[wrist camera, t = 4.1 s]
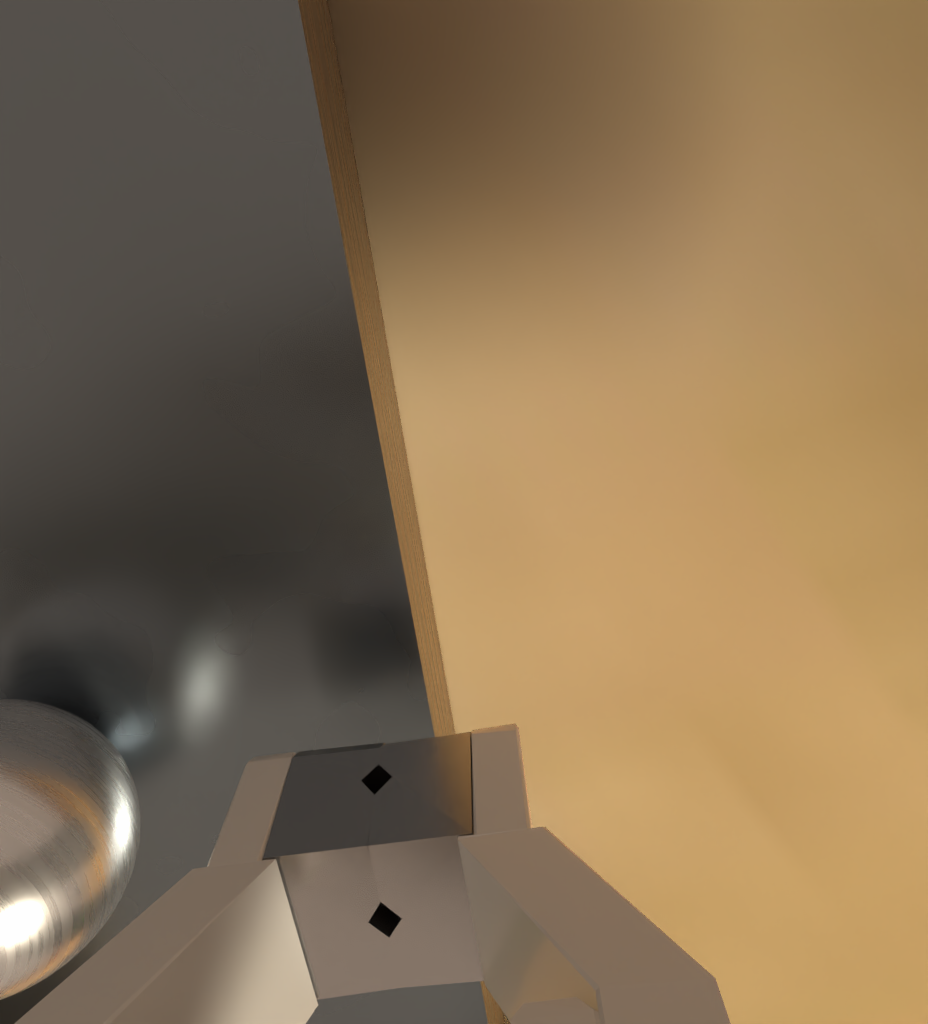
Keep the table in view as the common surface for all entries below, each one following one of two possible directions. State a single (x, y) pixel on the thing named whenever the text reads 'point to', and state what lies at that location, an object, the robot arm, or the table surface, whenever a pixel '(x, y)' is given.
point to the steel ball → (58, 838)
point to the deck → (201, 425)
